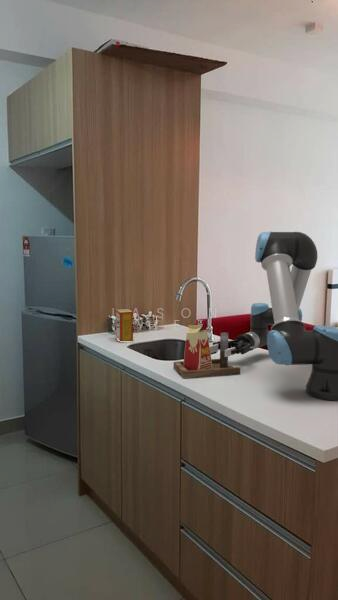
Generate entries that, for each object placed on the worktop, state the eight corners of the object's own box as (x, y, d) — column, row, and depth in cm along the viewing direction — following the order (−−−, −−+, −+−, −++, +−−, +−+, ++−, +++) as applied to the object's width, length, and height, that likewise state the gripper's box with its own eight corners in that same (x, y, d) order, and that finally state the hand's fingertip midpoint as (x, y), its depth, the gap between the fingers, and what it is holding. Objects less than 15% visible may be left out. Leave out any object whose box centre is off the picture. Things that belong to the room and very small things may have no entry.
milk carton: (212, 371, 193) (213, 322, 190) (198, 376, 187) (198, 325, 184) (195, 367, 199) (196, 319, 197) (180, 372, 193) (180, 322, 190)
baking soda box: (132, 342, 245) (132, 311, 243) (120, 343, 243) (120, 311, 241) (128, 338, 254) (127, 308, 252) (116, 339, 252) (115, 308, 250)
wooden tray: (240, 374, 190) (241, 336, 187) (183, 378, 184) (184, 339, 182) (226, 364, 204) (226, 329, 202) (173, 367, 198) (173, 331, 196)
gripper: (268, 354, 202) (238, 365, 185) (227, 346, 215) (196, 356, 198) (268, 336, 201) (239, 346, 184) (227, 330, 214) (196, 338, 197)
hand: (216, 351), depth 191 cm, fingers open, 8 cm apart
